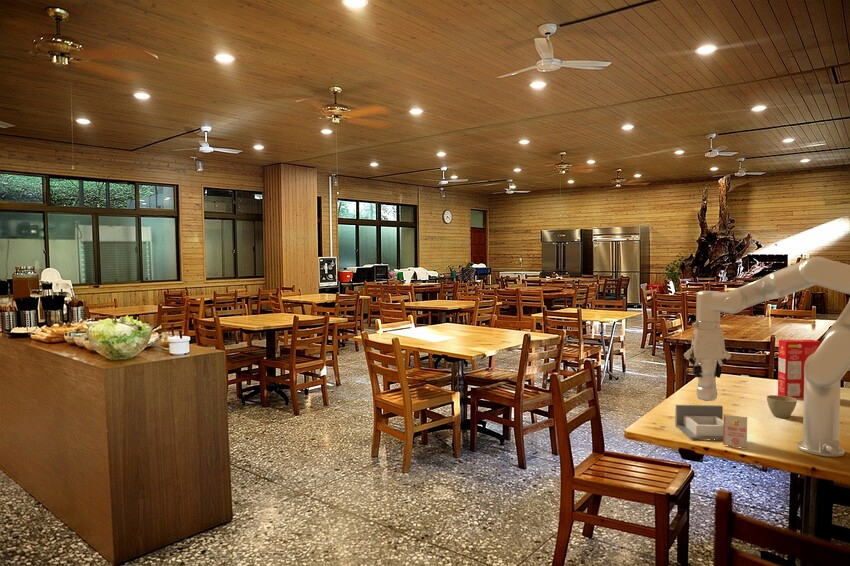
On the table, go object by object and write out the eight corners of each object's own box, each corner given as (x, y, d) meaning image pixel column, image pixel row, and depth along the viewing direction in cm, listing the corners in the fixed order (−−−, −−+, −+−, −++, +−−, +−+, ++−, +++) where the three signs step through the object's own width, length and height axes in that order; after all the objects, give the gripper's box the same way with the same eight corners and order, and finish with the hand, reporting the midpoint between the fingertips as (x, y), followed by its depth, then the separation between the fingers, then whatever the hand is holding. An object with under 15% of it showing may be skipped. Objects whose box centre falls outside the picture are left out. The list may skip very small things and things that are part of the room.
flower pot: (782, 420, 216) (782, 402, 216) (760, 414, 226) (760, 396, 226) (802, 418, 219) (803, 400, 219) (780, 412, 229) (780, 394, 228)
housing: (740, 441, 194) (740, 417, 193) (691, 440, 195) (691, 416, 195) (720, 427, 209) (720, 405, 209) (675, 426, 211) (675, 404, 211)
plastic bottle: (719, 403, 198) (721, 345, 197) (698, 402, 199) (699, 345, 198) (714, 398, 204) (715, 343, 203) (693, 397, 206) (695, 342, 205)
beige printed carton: (723, 442, 192) (723, 413, 192) (746, 445, 189) (747, 415, 188) (723, 446, 189) (723, 416, 188) (746, 449, 186) (747, 418, 185)
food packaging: (811, 395, 255) (812, 339, 254) (819, 398, 249) (820, 341, 248) (777, 395, 255) (778, 339, 254) (784, 398, 250) (786, 341, 249)
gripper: (686, 327, 198) (685, 378, 198) (738, 327, 196) (737, 379, 197) (678, 324, 205) (677, 374, 206) (729, 324, 203) (728, 375, 204)
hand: (706, 376), depth 201 cm, fingers closed on plastic bottle, 6 cm apart
